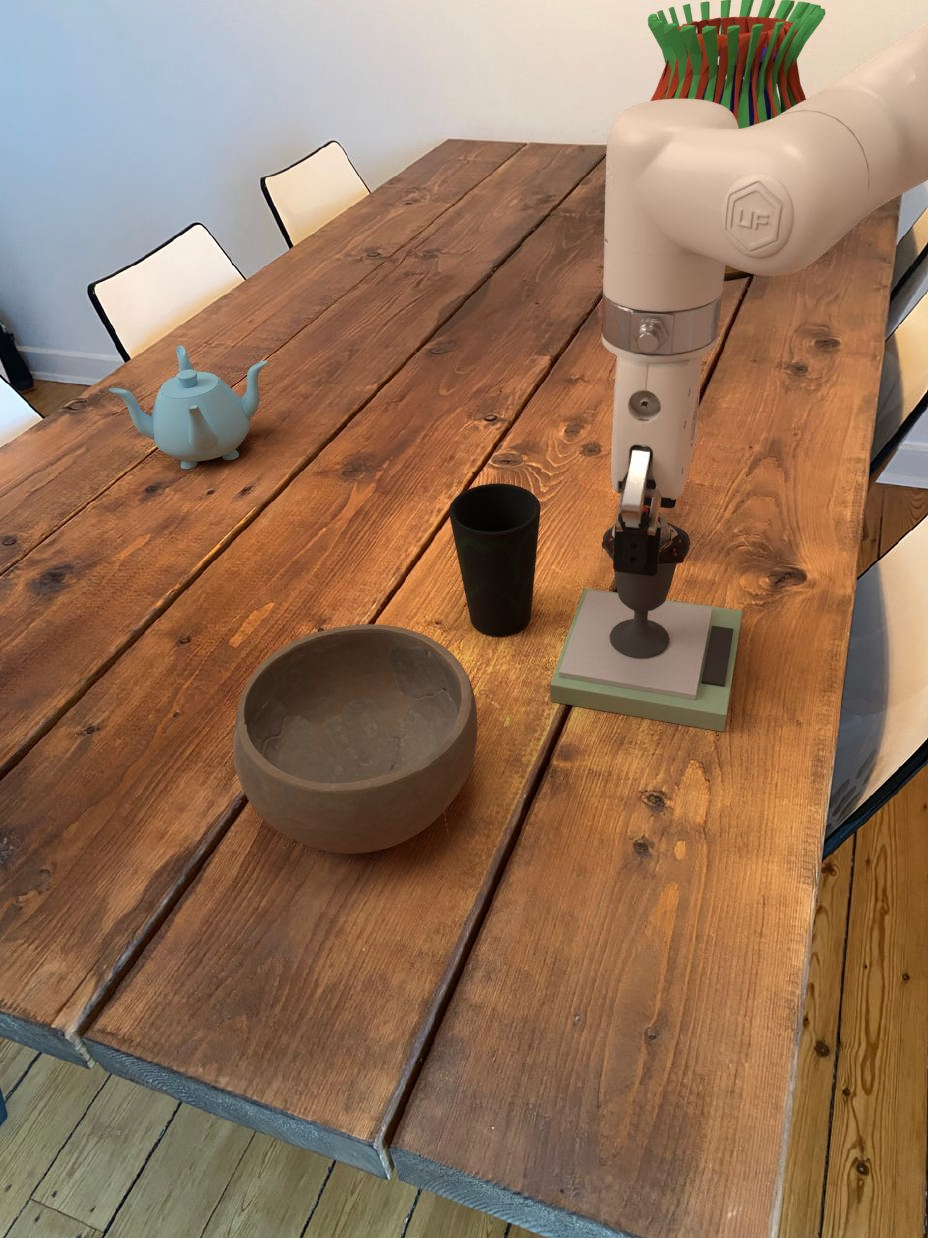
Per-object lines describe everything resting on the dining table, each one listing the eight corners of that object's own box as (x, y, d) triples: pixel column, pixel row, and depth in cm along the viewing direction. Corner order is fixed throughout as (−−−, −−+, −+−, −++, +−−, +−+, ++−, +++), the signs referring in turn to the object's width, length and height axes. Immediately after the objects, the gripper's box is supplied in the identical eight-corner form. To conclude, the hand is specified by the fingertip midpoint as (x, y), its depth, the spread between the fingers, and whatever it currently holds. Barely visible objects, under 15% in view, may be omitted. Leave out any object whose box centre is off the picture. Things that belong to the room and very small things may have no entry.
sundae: (595, 614, 82) (600, 464, 72) (674, 612, 82) (688, 461, 72) (601, 666, 77) (606, 513, 67) (684, 665, 77) (702, 509, 67)
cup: (550, 596, 89) (549, 487, 81) (531, 650, 83) (528, 538, 75) (471, 586, 90) (463, 478, 83) (448, 638, 85) (436, 527, 77)
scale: (740, 627, 83) (743, 604, 82) (724, 732, 74) (727, 709, 73) (583, 604, 87) (584, 582, 86) (550, 701, 78) (549, 679, 76)
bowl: (476, 699, 79) (468, 606, 72) (490, 880, 65) (482, 786, 59) (270, 715, 79) (244, 624, 73) (241, 900, 65) (206, 808, 59)
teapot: (131, 465, 113) (104, 387, 106) (203, 415, 121) (182, 340, 115) (215, 487, 108) (192, 407, 101) (284, 433, 116) (267, 355, 110)
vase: (789, 180, 179) (816, -9, 160) (819, 233, 156) (855, 20, 137) (627, 186, 183) (635, 2, 163) (633, 240, 160) (643, 33, 140)
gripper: (702, 382, 54) (678, 615, 65) (733, 271, 67) (709, 482, 78) (573, 372, 56) (572, 599, 67) (627, 266, 69) (618, 473, 80)
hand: (645, 536), depth 73 cm, fingers open, 8 cm apart
